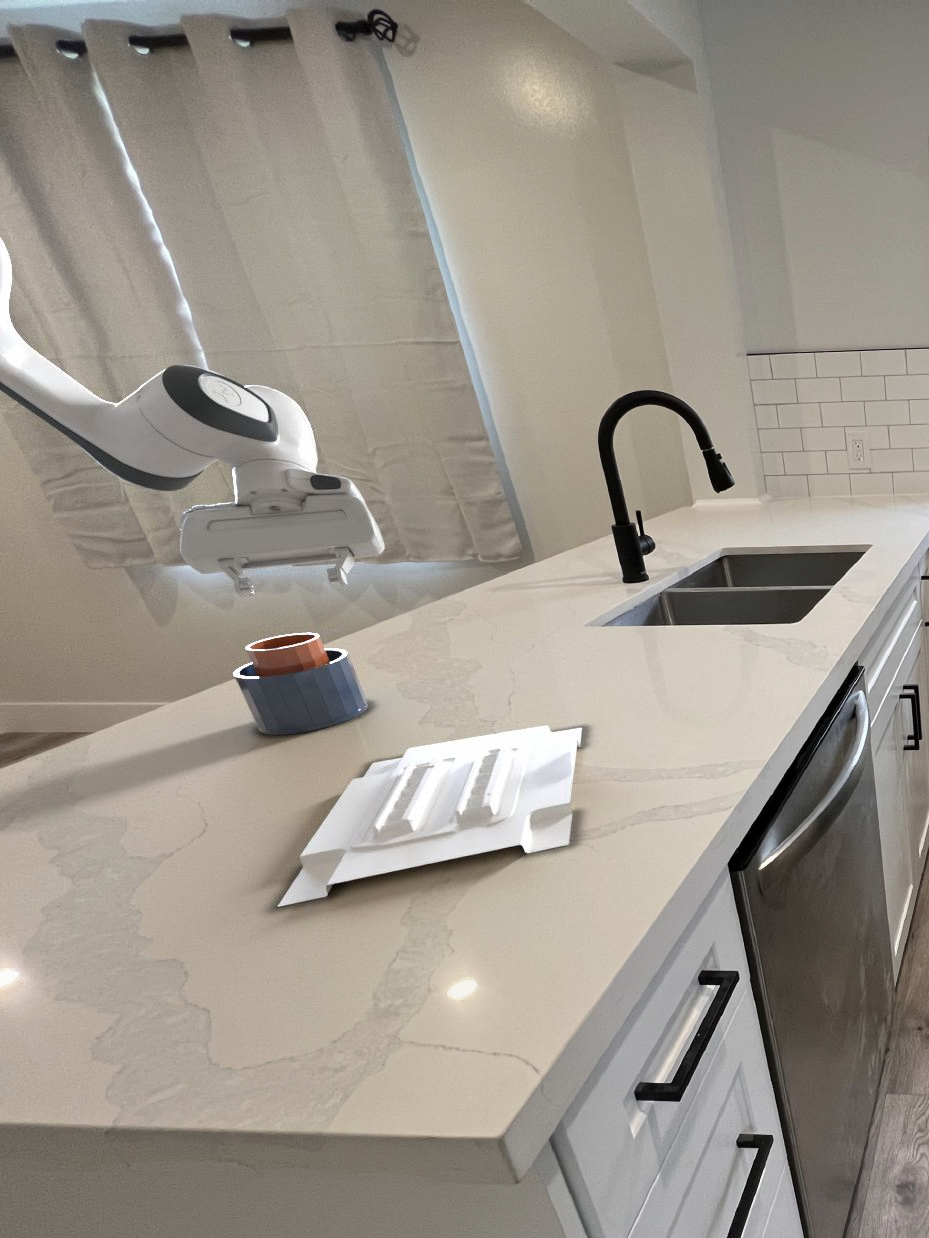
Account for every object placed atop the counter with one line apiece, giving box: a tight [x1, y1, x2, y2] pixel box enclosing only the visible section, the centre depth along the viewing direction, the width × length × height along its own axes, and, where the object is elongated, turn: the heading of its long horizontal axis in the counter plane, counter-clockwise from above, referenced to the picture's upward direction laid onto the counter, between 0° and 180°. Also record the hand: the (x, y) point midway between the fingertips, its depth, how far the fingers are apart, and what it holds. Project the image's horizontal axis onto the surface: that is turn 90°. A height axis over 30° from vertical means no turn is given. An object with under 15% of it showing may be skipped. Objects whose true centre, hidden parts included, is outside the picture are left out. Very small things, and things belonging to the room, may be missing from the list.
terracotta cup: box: [245, 632, 330, 677], centre depth 95 cm, size 7×7×9 cm
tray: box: [277, 724, 583, 908], centre depth 75 cm, size 20×28×4 cm
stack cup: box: [232, 648, 369, 736], centre depth 95 cm, size 11×11×7 cm
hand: (292, 588), depth 101 cm, fingers open, 8 cm apart
